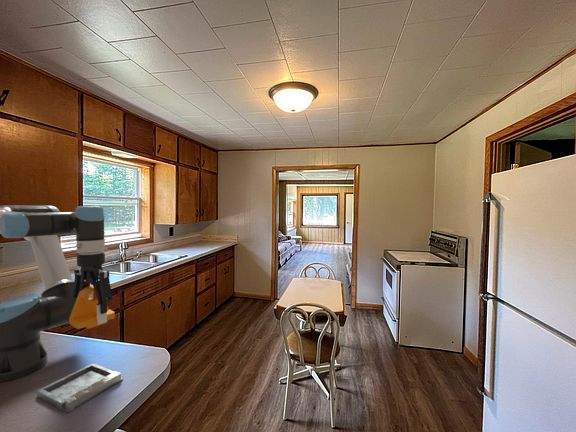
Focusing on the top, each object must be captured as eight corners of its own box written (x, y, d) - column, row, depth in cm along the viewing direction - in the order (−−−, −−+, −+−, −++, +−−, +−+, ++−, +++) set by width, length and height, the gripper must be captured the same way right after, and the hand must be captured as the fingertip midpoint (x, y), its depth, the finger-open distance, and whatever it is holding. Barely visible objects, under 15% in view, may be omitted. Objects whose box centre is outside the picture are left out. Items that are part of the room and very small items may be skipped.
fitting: (37, 396, 78) (37, 388, 78) (93, 368, 91) (92, 361, 91) (67, 413, 72) (67, 403, 71) (122, 380, 85) (122, 372, 85)
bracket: (77, 331, 84) (76, 293, 83) (69, 326, 88) (68, 289, 88) (115, 320, 93) (115, 285, 92) (106, 315, 97) (105, 282, 96)
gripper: (57, 252, 90) (59, 320, 90) (101, 256, 82) (103, 330, 83) (82, 249, 97) (83, 312, 97) (124, 252, 89) (126, 321, 90)
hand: (92, 320), depth 90 cm, fingers closed on bracket, 8 cm apart
